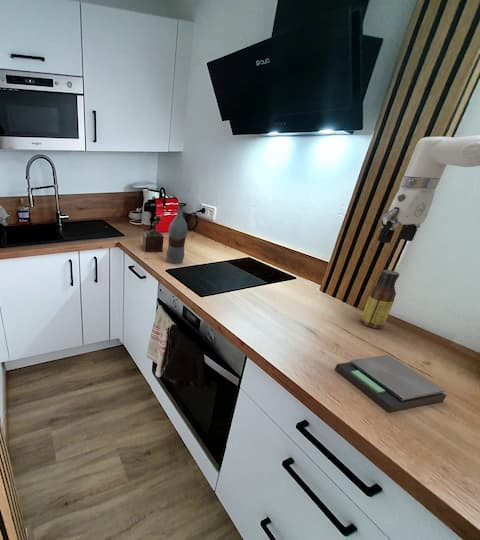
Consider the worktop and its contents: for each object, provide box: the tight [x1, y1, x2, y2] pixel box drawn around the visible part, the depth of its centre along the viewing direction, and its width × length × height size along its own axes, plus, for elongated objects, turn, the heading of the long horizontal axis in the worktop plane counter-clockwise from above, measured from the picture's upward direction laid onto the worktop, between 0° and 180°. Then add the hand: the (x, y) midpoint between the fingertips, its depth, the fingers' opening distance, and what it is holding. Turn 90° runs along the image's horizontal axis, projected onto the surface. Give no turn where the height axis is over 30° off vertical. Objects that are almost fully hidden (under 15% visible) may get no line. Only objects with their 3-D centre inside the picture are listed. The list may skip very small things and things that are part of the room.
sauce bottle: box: [360, 269, 400, 330], centre depth 96 cm, size 6×6×20 cm
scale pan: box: [349, 354, 446, 401], centre depth 73 cm, size 13×13×1 cm
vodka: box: [165, 203, 188, 265], centre depth 144 cm, size 9×9×30 cm
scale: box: [334, 361, 448, 413], centre depth 73 cm, size 17×14×3 cm
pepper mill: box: [142, 215, 165, 253], centre depth 166 cm, size 16×11×18 cm
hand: (394, 240), depth 89 cm, fingers open, 9 cm apart
